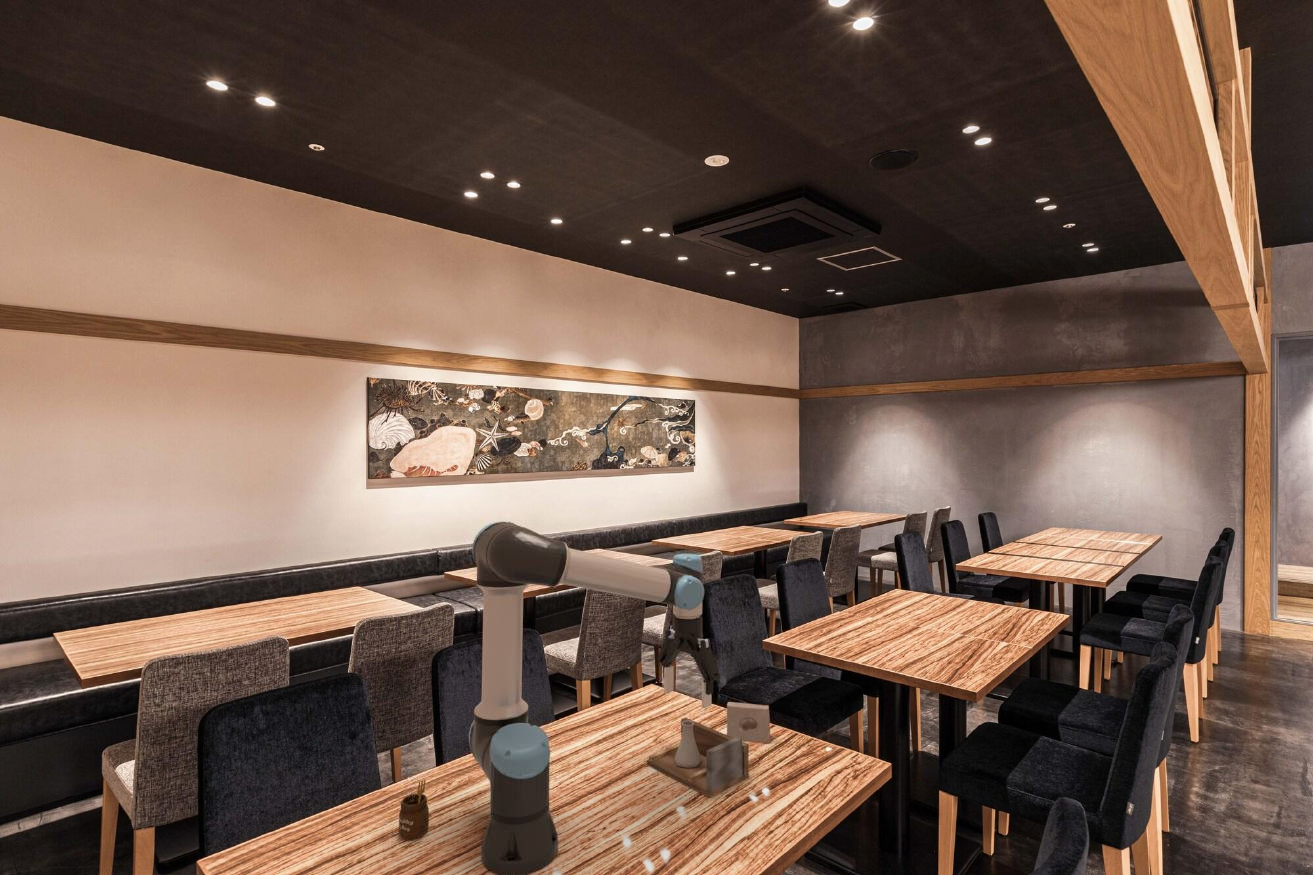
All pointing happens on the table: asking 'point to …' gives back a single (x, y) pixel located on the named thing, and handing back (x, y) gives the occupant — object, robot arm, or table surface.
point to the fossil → (748, 722)
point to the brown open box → (707, 761)
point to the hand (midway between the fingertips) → (687, 699)
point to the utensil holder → (414, 814)
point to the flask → (687, 748)
